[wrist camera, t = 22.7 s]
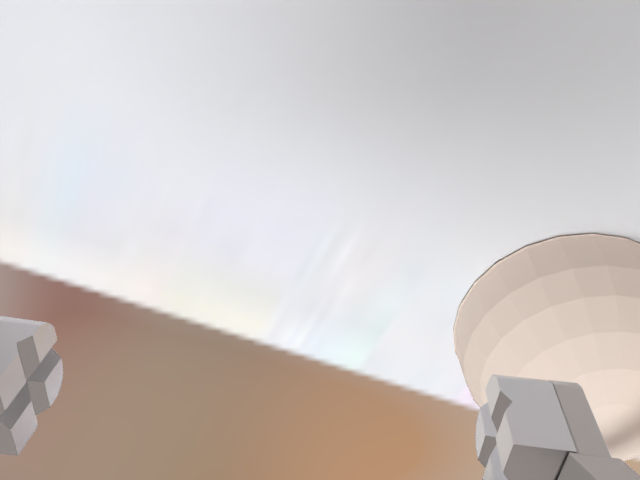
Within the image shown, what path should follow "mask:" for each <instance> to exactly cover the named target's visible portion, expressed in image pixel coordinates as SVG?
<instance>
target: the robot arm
mask: <svg viewBox="0 0 640 480" xmlns="http://www.w3.org/2000/svg"><path fill="white" fill-rule="evenodd" d="M56 340H57V337H56V333H55V330H54V326H53V325H51V324H49V323H46V322H39V321H32V320H25V319H18V318H11V317H3V316H0V454H7V455H19V454H20V452H21V451H22V449H23V448H24V446H25V445H26V443H27V442H28V440H29V439H30V437H31V436H32V434H33V433H34V431H35V430H36V428H37V427H38V424H37V419H36V415H38V414H39V413H41V412H43V411H44V410H46V409H48V408H50V406H51V405H52V403H53V402H54V400H55V399H56V397H57V395H58V393H59V390H60V387H61V383H62V380H63V364H62V359H61V357H60V356H59V355H58V354H57V353H56V352H55V351H54V350H53V349H52V348H51V347H52V346H53V345H54V343H55V342H56ZM486 395H487V400H488V402H487V403H486V404H484V405H483V406H482V407H480V410H479V414H478V418H477V423H476V434H475V438H476V451H477V457H478V460H479V461H480V462H481V464H482V465H483V466H484V467H485V468H486V469H485V473H484V475H483V479H482V480H640V476H639V475H638V474H637V473H636V472H635V471H634V470H633V469H632V468H630V467H629V466H628V465H627V464H626V463H625V462H624V461H622V460H621V459H619V458H612V457H611V455H610V453H609V450H608V448H607V445H606V443H605V441H604V438H603V436H602V434H601V431H600V429H599V426H598V424H597V422H596V419H595V417H594V415H593V412H592V410H591V408H590V405H589V403H588V400H587V398H586V396H585V393H584V391H583V389H582V387H581V386H580V385H579V384H578V383H573V382H563V381H553V380H548V381H547V380H540V379H531V378H522V377H513V376H504V375H494V374H492V376H491V377H490V379H489V381H488V384H487V387H486Z"/></svg>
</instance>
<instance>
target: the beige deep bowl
mask: <svg viewBox="0 0 640 480" xmlns="http://www.w3.org/2000/svg"><path fill="white" fill-rule="evenodd" d="M453 330H454V345H455V352H456V355H457V357H458V359H459V362H460V365H461V368H462V372H463V375H464V378H465V381H466V383H467V386H468V388H469V390H470V393H471V395H472V397H473V399H474V401H475V402H476V403H477V405H478V406H479V407H482V406H483V405H484V404H486V403H487V402H488V400H487V395H486V387H487V384H488V381H489V379H490V377H491V376H492V374H494V375H504V376H513V377H522V378H531V379H540V380H547V381H548V380H553V381H563V382H573V383H578V384H579V385H580V386H581V387H582V389H583V391H584V393H585V396H586V398H587V400H588V403H589V405H590V408H591V410H592V412H593V415H594V417H595V419H596V422H597V424H598V426H599V429H600V431H601V434H602V436H603V438H604V441H605V443H606V445H607V448H608V450H609V453H610V455H611V457H612V458H619V459H621V460H622V461H626V460H630V459H633V458H635V457H638V456H640V243H637V242H635V241H632V240H629V239H627V238H622V237H614V236H607V235H599V234H583V235H572V236H561V237H556V238H552V239H549V240H546V241H543V242H539V243H536V244H533V245H530V246H526V247H524V248H522V249H520V250H519V251H517V252H515V253H513V254H511V255H510V256H508V257H506V258H504V259H503V260H501V261H499V262H497V263H496V264H495V265H494V266H492V267H491V268H490V269H489V270H488V271H487V272H486V273H485V274H484V275H483V276H481V277H480V278H479V279H478V280H477V281H476V282H475V283H474V284H473V286H472V287H471V289H470V291H469V292H468V294H467V295H466V297H465V298H464V300H463V301H462V303H461V304H460V307H459V310H458V314H457V318H456V321H455V325H454V328H453Z"/></svg>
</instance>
